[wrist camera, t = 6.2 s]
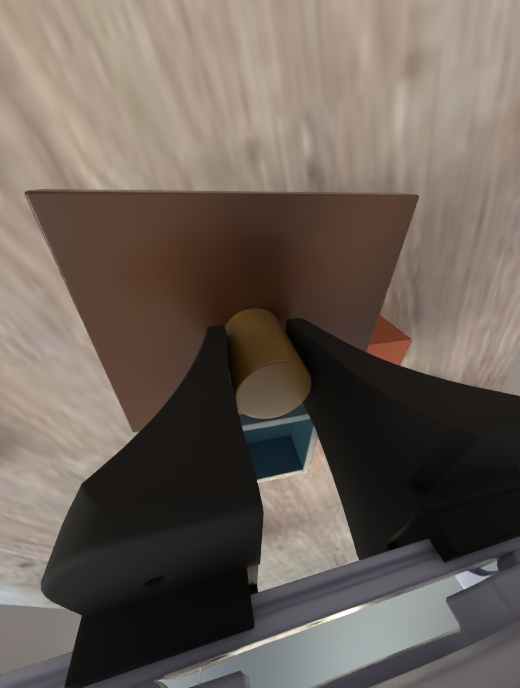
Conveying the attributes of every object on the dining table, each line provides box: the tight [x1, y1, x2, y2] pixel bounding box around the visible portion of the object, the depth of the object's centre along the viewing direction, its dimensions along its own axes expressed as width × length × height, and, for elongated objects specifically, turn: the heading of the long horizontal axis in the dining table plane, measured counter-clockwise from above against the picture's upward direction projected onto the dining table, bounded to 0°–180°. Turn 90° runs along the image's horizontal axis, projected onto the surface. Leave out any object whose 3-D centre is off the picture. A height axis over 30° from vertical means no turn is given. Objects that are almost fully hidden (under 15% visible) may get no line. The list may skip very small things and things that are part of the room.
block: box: [367, 315, 412, 366], centre depth 21 cm, size 5×5×5 cm
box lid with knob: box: [25, 189, 419, 432], centre depth 10 cm, size 13×11×5 cm
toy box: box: [239, 404, 318, 483], centre depth 24 cm, size 12×10×5 cm
